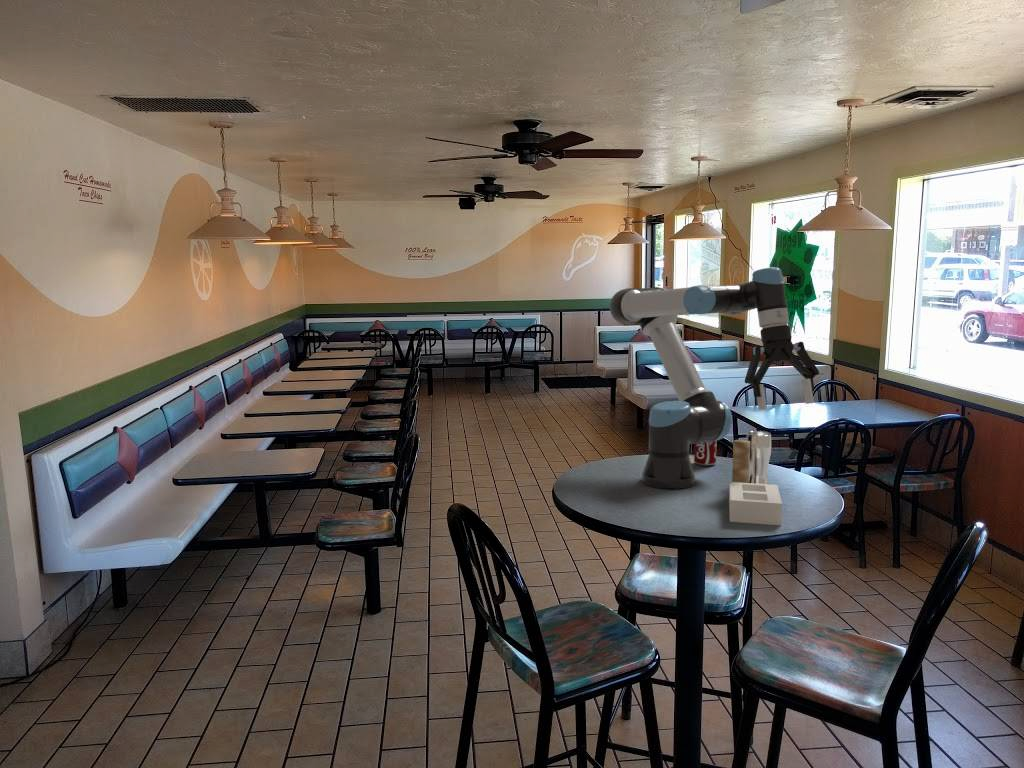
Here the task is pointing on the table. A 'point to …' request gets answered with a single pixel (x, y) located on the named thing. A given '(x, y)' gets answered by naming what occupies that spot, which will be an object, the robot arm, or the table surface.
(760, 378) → the robot arm
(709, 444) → the soda can
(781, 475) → the table surface
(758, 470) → the beer glass
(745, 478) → the oak peg
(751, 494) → the square-hole block
